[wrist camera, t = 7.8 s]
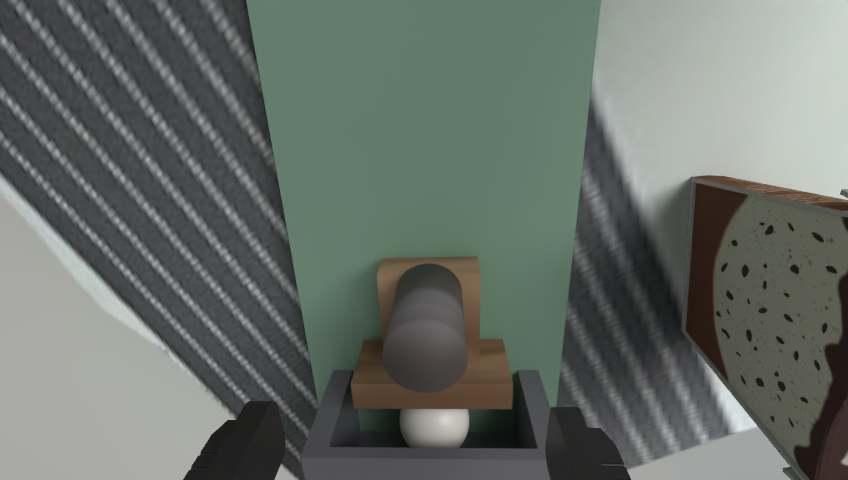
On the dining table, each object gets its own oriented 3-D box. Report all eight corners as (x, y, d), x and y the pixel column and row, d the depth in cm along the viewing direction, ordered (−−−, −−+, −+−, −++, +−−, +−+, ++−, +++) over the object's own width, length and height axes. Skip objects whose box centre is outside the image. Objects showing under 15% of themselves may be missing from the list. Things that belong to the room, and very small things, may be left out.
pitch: (248, -42, 18) (237, -48, 17) (599, -63, 17) (608, -71, 16) (329, 435, 28) (325, 447, 27) (547, 437, 27) (551, 449, 26)
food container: (789, 339, 24) (1013, 508, 14) (679, 351, 24) (825, 521, 15) (829, 125, 19) (1193, 170, 10) (692, 147, 20) (913, 209, 10)
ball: (398, 475, 22) (404, 419, 26) (471, 476, 22) (467, 419, 26) (393, 418, 21) (401, 368, 24) (471, 418, 20) (467, 367, 24)
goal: (332, 370, 25) (300, 457, 19) (538, 369, 24) (567, 460, 18) (344, 444, 27) (318, 542, 21) (531, 446, 26) (556, 547, 21)
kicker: (353, 248, 21) (313, 324, 15) (506, 245, 21) (535, 322, 14) (366, 362, 24) (337, 468, 17) (502, 361, 23) (524, 470, 17)
